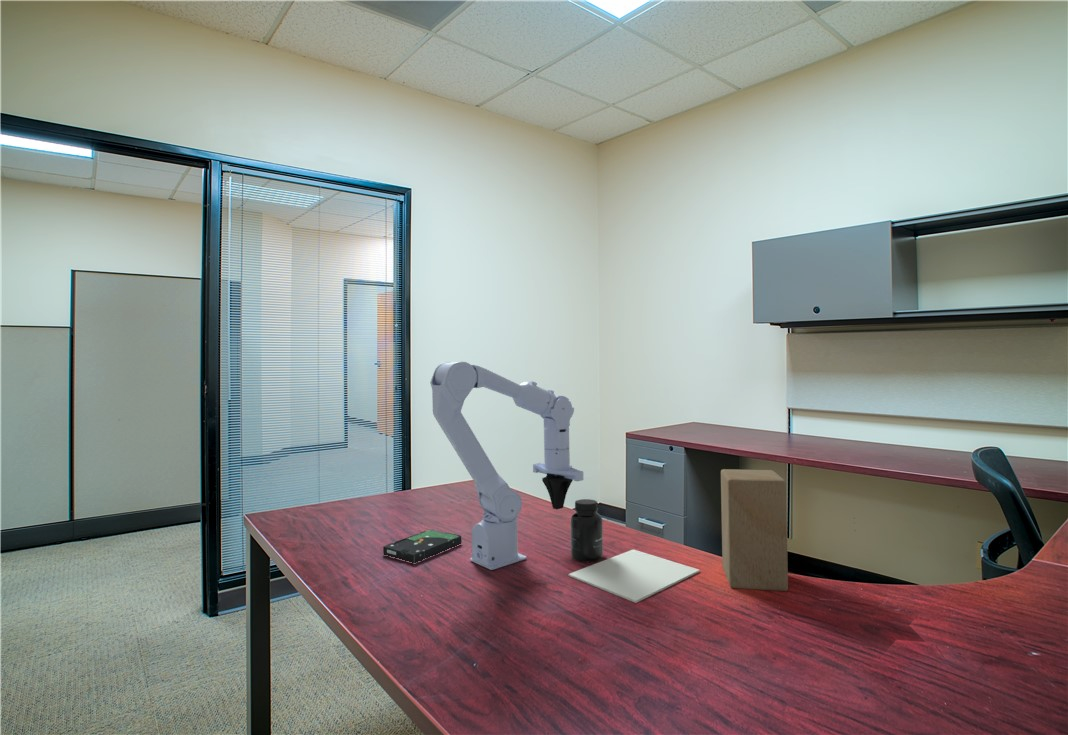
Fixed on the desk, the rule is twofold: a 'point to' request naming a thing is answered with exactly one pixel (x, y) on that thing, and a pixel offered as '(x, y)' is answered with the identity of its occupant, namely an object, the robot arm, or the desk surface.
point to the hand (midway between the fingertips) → (558, 508)
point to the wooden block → (754, 529)
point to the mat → (634, 575)
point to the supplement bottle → (586, 532)
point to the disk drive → (422, 545)
